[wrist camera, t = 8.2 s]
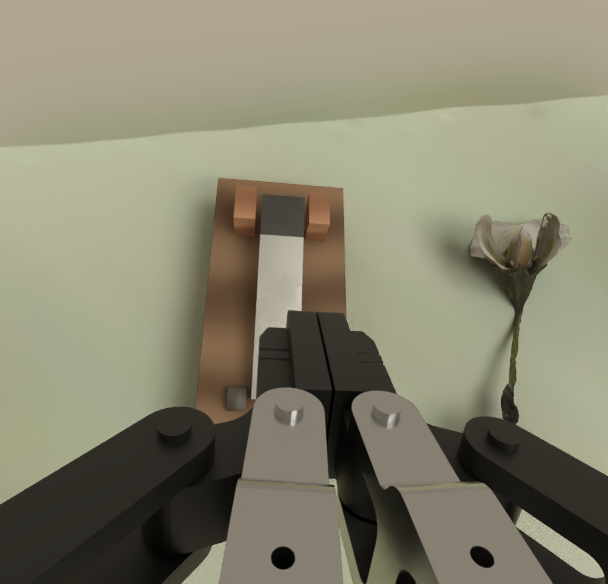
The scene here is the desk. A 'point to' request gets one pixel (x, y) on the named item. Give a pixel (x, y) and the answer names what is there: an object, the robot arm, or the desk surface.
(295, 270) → the lever
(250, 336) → the lever base
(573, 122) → the desk surface
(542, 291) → the desk surface
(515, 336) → the artificial flower
